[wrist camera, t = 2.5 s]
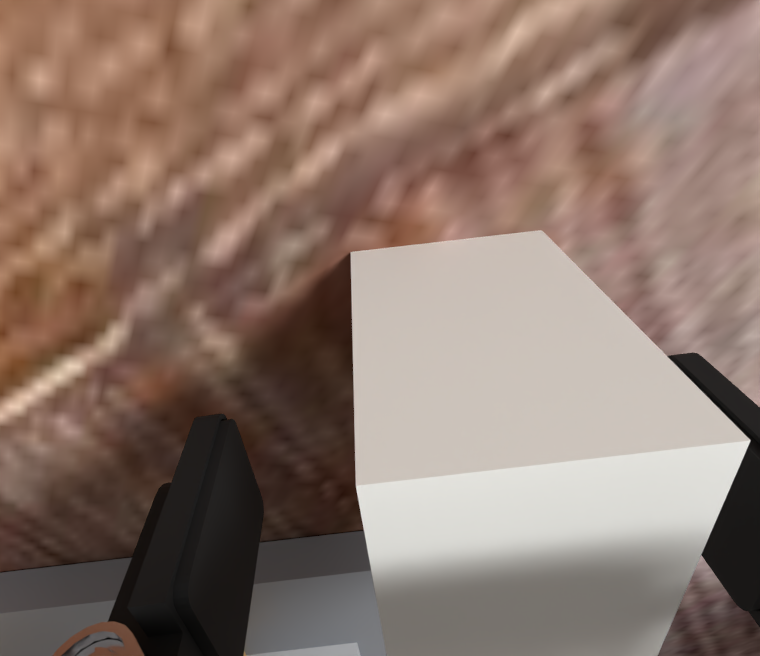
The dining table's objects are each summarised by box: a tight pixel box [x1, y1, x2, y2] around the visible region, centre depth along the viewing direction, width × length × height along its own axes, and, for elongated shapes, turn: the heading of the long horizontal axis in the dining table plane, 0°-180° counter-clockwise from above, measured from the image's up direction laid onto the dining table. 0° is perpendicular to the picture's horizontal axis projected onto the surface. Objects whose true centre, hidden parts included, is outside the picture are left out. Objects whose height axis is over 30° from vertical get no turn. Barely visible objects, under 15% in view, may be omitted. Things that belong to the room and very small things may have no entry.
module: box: [351, 230, 751, 656], centre depth 10 cm, size 5×7×7 cm, turn 6°
